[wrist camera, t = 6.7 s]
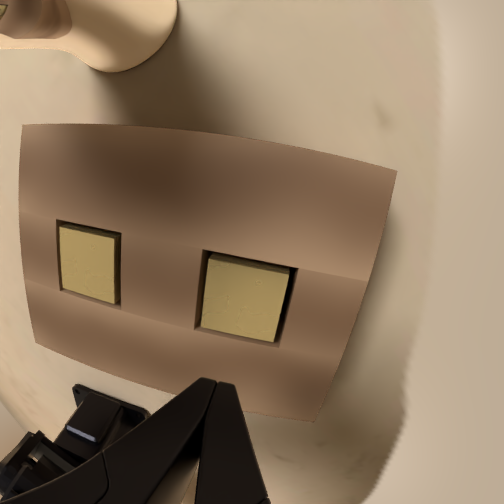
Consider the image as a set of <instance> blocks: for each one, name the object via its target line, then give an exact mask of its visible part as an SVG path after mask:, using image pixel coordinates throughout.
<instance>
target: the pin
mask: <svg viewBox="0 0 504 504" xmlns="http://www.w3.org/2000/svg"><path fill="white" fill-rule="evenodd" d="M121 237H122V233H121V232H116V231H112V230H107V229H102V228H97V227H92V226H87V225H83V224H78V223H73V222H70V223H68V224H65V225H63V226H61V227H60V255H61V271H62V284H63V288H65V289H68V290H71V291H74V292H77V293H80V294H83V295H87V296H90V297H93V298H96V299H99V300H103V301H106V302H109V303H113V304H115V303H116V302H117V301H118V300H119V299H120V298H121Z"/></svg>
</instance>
